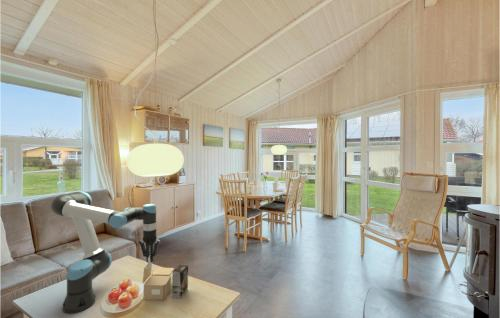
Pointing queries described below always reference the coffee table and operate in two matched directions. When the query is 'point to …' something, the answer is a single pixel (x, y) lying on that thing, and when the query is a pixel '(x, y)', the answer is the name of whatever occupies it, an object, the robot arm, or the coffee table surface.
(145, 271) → the panel
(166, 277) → the carton
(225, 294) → the coffee table surface
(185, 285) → the coffee box
